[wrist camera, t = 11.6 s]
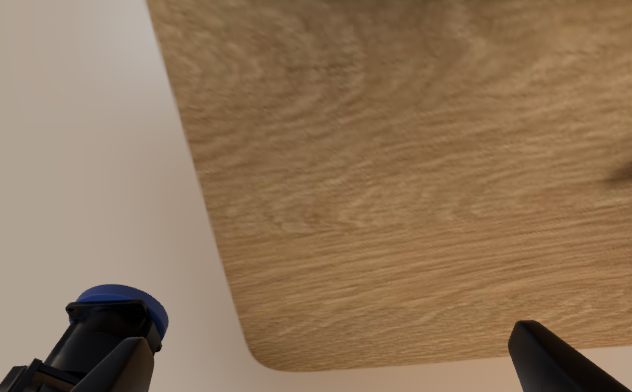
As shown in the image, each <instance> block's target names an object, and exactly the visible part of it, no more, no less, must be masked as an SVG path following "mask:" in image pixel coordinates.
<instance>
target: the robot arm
mask: <svg viewBox="0 0 632 392" xmlns="http://www.w3.org/2000/svg"><path fill="white" fill-rule="evenodd" d="M65 310H66V312H67V313H68V315H69V317H70V319H71V320H72V322H71V324H70V325H69V327H68V328H67V330H66V331H65V333H64V334H63V336H62V337H61V338H60V340H59V341H58V343H57V344H56V346H55V347H54V349H53V350H52V351H51V353H50V354H49V356H48V357H47V359H46V360H45V362H44V363H42V361H41V360H39V359H36V358H35V359H34V360H33V361H32V362H31V363H30V364H29V366H26V365H25V366H14V367H13V368H12V369H11V370H10V372H9V373H8V374H7V376H6V377H5V378H4V379H3V381H2V382H1V384H0V392H148V390H149V386H150V381H151V377H152V373H153V368H154V355H155V352H159V351H160V350H161V348H162V343H161V341H160V340H161V339H160V336H159V333H158V331H157V328H156V326H155V323H154V321H153V320H152V318H151V315H150V313H149V310H148V308H147V305H146V303H145V301H143V300H140V299H134V300H110V301H87V302H70V303H69V304H68V305H67V306H66V308H65ZM508 349H509V353H510V356H511V358H512V361H513V364H514V366H515V369H516V372H517V375H518V378H519V380H520V383H521V386H522V388H523V391H524V392H632V391H630V390H629V389H628V388H627V387H625V386H624V385H622V384H621V383H620V382H618V381H617V380H615V379H614V378H613V377H612V376H610V375H609V374H608V373H606V372H605V371H603V370H602V369H601V368H599V367H598V366H597V365H595V364H594V363H593V362H591V361H590V360H589V359H587V358H586V357H585V356H583V355H582V354H581V353H579V352H578V351H577V350H575V349H574V348H573V347H571V346H570V345H569V344H567V343H566V342H564V341H563V340H562V339H560V338H559V337H558V336H556V335H555V334H554V333H552V332H551V331H550V330H548V329H547V328H546V327H544V326H543V325H542V324H540V323H539V322H537V321H534V320H520V321H517V322H516V323H515V326H514V328H513V331H512V333H511V336H510V338H509V341H508Z"/></svg>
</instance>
